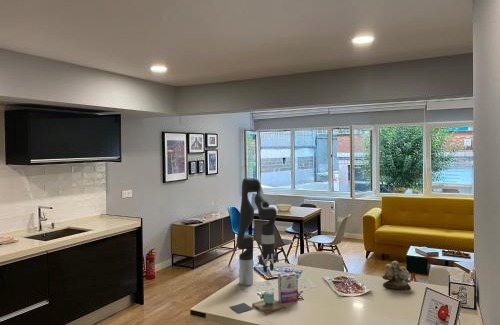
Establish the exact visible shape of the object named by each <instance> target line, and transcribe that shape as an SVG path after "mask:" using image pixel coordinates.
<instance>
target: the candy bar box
mask: <svg viewBox="0 0 500 325" xmlns="http://www.w3.org/2000/svg"><path fill="white" fill-rule="evenodd" d="M298 287H299V286H298V273H296V271H291V272H290V271H289V272H283V273H278V274H277V288H278V302H280V303H282V304H284V303H291V302H297V301H299V288H298Z"/></svg>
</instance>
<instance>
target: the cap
mask: <svg viewBox="0 0 500 325" xmlns="http://www.w3.org/2000/svg"><path fill="white" fill-rule="evenodd" d="M263 300H264V302H265V303H273V302H274V300H275V292H274V291H272V290H265V291H263Z"/></svg>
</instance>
